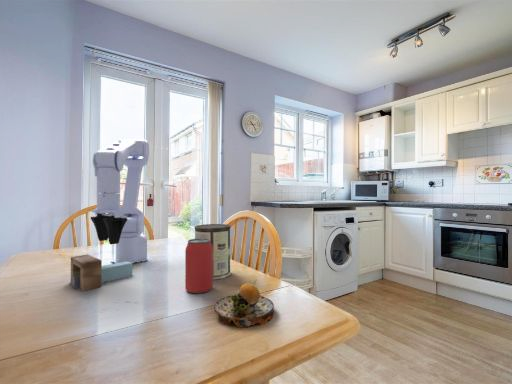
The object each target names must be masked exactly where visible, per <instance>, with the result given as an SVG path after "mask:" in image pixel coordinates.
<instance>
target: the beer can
mask: <svg viewBox="0 0 512 384" xmlns="http://www.w3.org/2000/svg"><path fill="white" fill-rule="evenodd" d="M184 252H185V253H184V254H185V258H184V260H185V275H184V276H185V277H184V278H185V279H184V282H185V287H184V289H185V290H186V291H187V292H188V293H190V294H205V293H207V292H209V291H211V290H212V289H213V286H214V280H213V247H212V244H211V240H210V239H204V238H199V239H195V238H192V239H188V240H187V244H186V247H185V251H184Z"/></svg>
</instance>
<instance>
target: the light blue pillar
mask: <svg viewBox="0 0 512 384" xmlns="http://www.w3.org/2000/svg"><path fill="white" fill-rule="evenodd" d="M80 276H81V270H80V275H74V276H72V283H71V288H73V289H78V288H80ZM132 276H133V263H131V262H128V261H126V262H121V263H110V264H105V265H102V268H101V284H102V282H103V283H107V282H111V280H112V281H115V280H119V279H124V278H128V277H132ZM106 281H107V282H106Z"/></svg>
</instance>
